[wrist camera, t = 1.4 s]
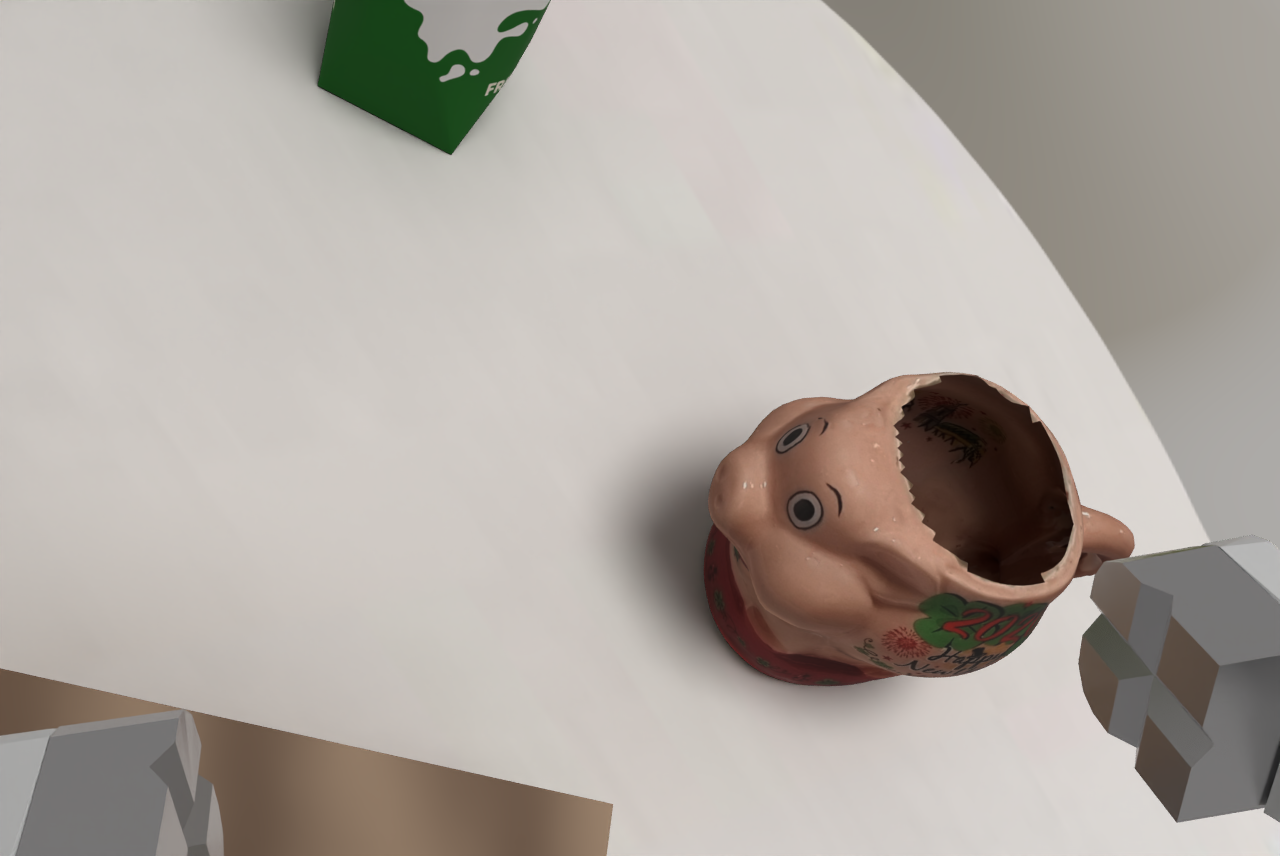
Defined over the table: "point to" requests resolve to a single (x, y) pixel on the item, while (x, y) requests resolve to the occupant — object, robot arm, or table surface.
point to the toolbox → (335, 789)
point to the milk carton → (426, 59)
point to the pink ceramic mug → (896, 533)
